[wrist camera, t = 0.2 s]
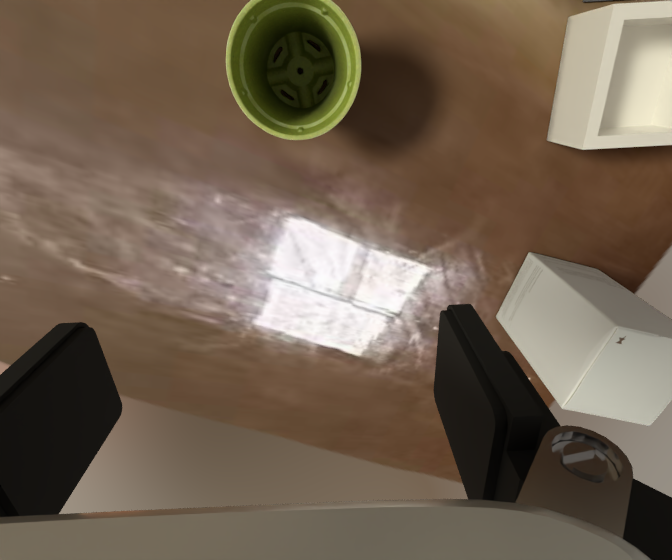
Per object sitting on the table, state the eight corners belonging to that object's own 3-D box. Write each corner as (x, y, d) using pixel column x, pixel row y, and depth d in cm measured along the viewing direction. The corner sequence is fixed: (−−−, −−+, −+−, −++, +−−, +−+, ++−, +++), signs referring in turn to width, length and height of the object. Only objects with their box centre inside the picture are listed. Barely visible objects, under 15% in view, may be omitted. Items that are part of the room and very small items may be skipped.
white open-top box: (568, 17, 34) (613, 3, 28) (686, 10, 34) (754, -5, 28) (546, 140, 38) (582, 149, 33) (651, 134, 38) (704, 143, 33)
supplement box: (492, 317, 47) (558, 411, 33) (527, 249, 43) (617, 324, 30) (560, 333, 48) (650, 430, 35) (600, 268, 44) (719, 349, 31)
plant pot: (374, 51, 35) (388, 42, 27) (320, 147, 38) (318, 164, 30) (279, -18, 32) (264, -50, 25) (230, 91, 36) (203, 93, 28)
